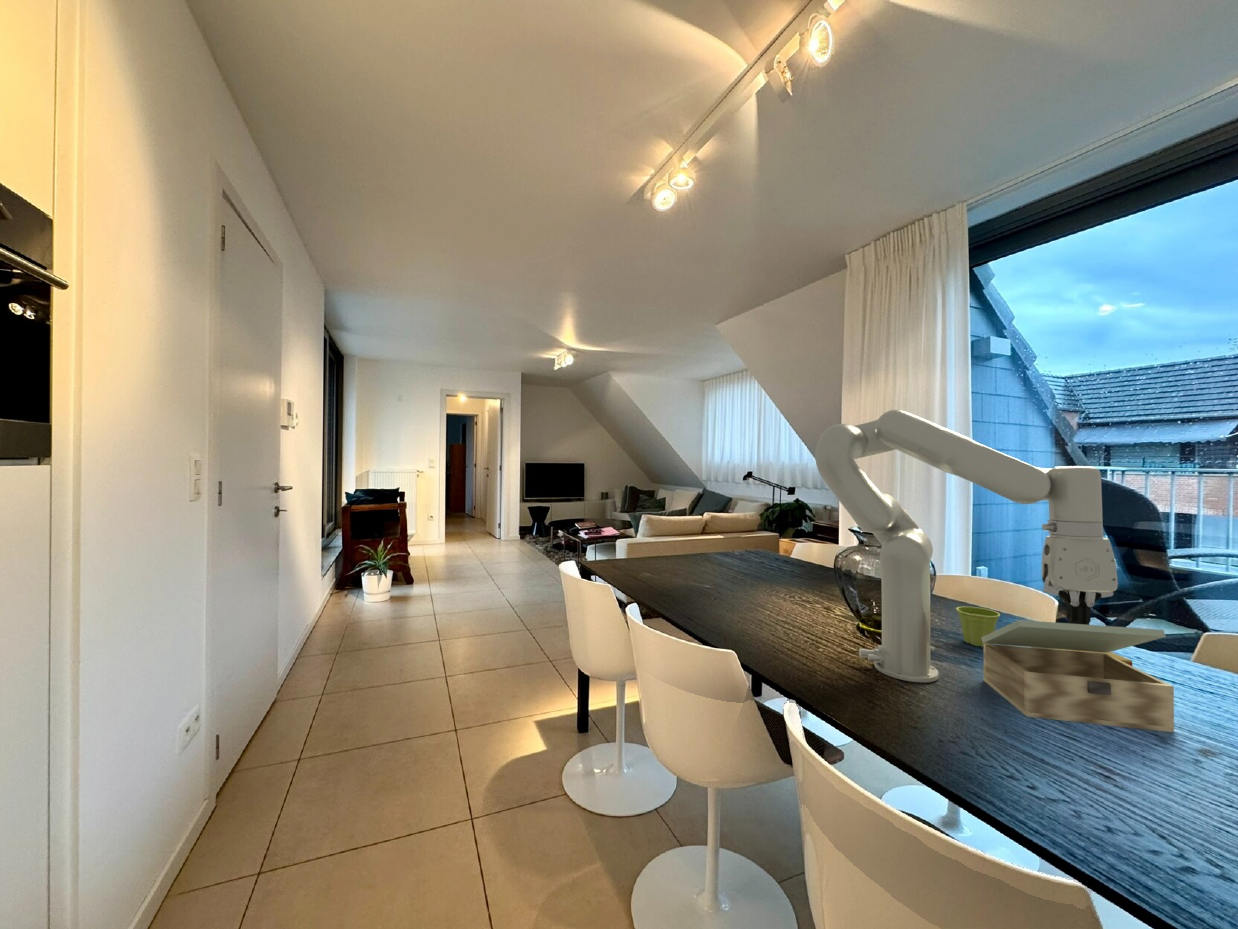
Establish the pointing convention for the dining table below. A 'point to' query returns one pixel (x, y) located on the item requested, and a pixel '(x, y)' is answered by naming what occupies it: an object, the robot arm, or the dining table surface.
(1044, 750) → the dining table surface
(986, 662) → the crate
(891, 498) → the robot arm
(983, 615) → the plant pot
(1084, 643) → the lid
